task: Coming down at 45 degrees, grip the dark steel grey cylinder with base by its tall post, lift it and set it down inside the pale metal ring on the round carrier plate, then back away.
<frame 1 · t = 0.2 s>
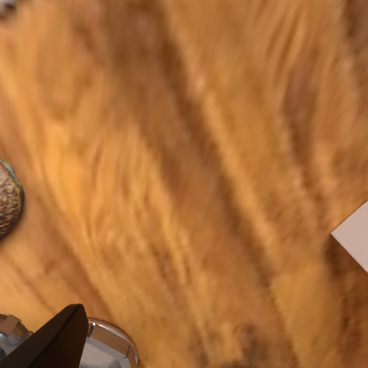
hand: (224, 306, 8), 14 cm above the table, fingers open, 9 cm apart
grey cylinder with base: (1, 336, 29), on the table
carrier ring: (89, 353, 30), on the table
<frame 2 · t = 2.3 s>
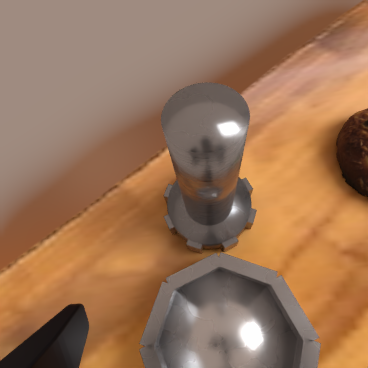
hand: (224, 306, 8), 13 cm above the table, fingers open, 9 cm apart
grey cylinder with base: (208, 210, 23), on the table
carrier ring: (225, 339, 19), on the table
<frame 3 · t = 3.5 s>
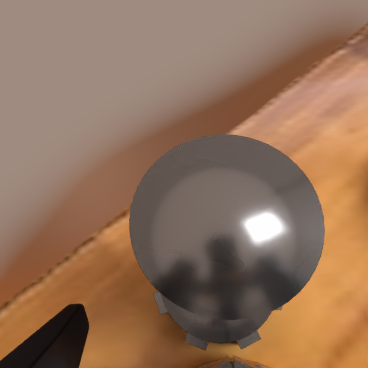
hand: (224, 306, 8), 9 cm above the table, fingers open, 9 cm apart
grey cylinder with base: (216, 277, 17), on the table
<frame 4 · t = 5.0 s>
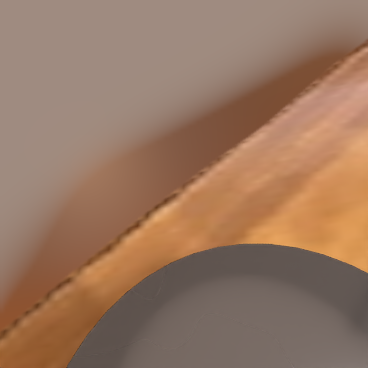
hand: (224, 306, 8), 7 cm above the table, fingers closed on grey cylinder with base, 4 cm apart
grey cylinder with base: (222, 335, 14), on the table, touching gripper
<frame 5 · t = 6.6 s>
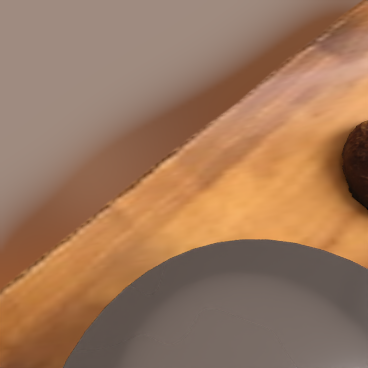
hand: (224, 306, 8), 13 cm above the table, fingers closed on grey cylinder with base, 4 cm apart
grey cylinder with base: (222, 334, 14), point 6 cm above the table, touching gripper
when the fingers open (9 cm above the table, at t = 8.3 s): grey cylinder with base drops 1 cm, resting on carrier ring.
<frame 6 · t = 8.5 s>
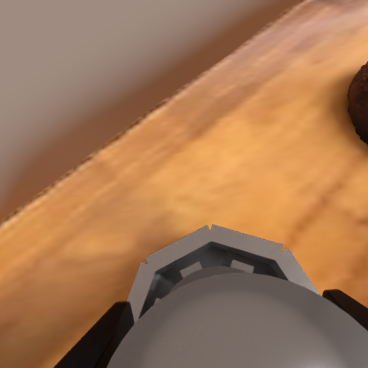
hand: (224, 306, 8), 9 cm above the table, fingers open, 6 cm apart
grey cylinder with base: (221, 335, 15), point 1 cm above the table, touching carrier ring
carrier ring: (221, 331, 15), on the table
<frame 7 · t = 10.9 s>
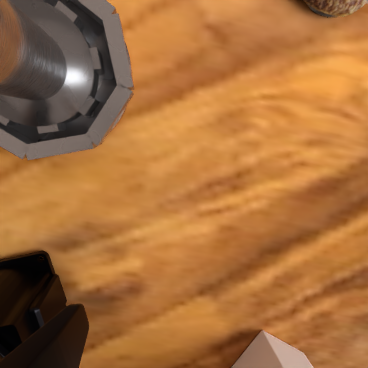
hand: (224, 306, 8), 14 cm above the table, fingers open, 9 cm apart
grey cylinder with base: (43, 71, 17), point 1 cm above the table, touching carrier ring
milk: (264, 360, 27), on the table
carrier ring: (48, 71, 18), on the table
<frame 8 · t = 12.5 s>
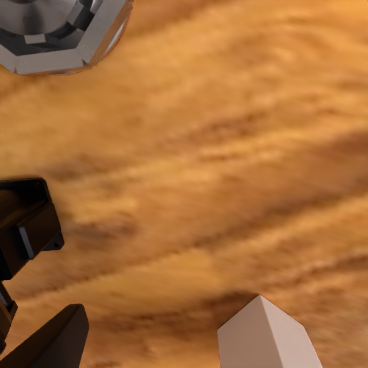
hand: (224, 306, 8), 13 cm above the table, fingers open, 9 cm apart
milk: (259, 325, 25), on the table
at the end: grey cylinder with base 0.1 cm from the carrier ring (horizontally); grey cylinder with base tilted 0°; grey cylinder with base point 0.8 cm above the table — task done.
